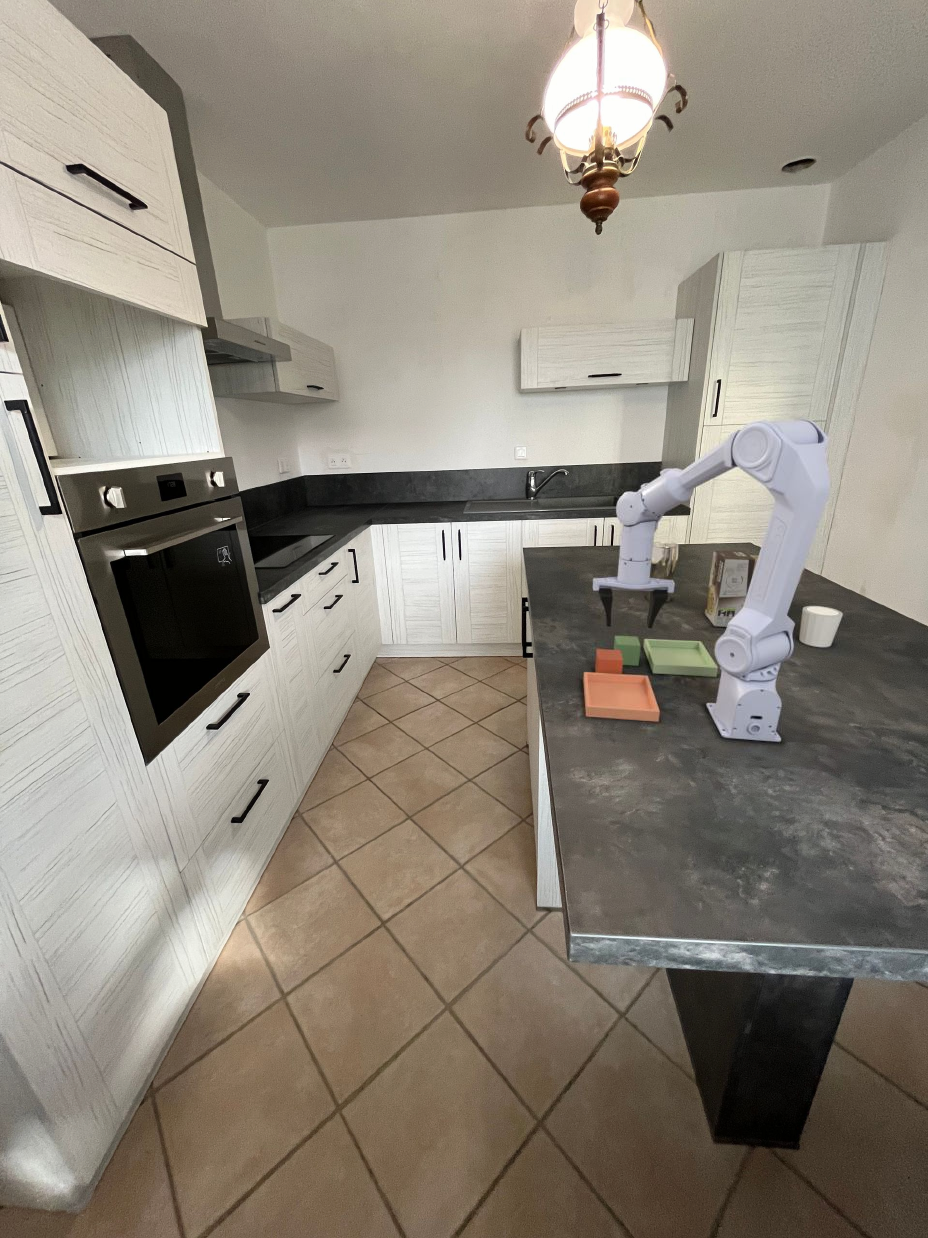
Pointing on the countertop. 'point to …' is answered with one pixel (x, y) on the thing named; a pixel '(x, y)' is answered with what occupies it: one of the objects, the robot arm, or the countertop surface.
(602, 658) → the terracotta block
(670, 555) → the beer glass
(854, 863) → the countertop surface
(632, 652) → the sage block
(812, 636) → the white cup
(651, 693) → the terracotta tray
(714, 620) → the coffee box
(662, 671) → the sage tray
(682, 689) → the countertop surface
